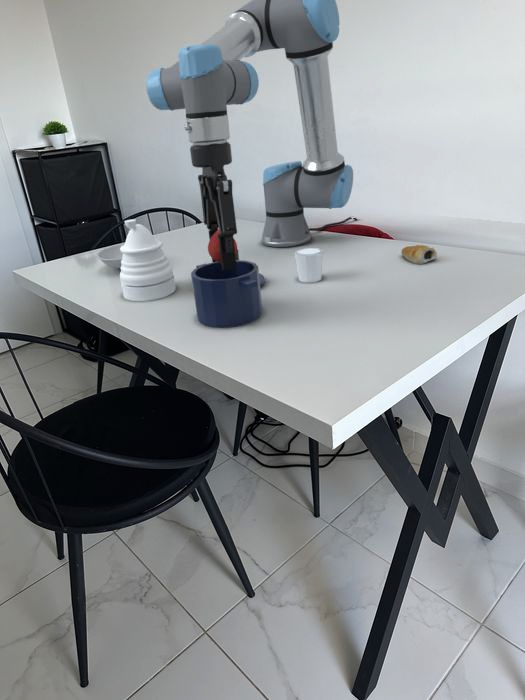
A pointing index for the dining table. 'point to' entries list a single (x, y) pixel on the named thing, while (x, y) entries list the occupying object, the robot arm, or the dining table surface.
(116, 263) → the dish
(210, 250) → the onion
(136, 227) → the honey pot
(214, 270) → the pot
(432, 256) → the pastry
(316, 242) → the dining table surface
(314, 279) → the white tapered cylinder
